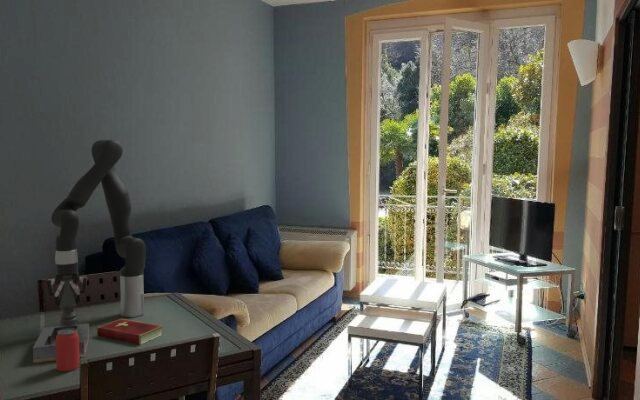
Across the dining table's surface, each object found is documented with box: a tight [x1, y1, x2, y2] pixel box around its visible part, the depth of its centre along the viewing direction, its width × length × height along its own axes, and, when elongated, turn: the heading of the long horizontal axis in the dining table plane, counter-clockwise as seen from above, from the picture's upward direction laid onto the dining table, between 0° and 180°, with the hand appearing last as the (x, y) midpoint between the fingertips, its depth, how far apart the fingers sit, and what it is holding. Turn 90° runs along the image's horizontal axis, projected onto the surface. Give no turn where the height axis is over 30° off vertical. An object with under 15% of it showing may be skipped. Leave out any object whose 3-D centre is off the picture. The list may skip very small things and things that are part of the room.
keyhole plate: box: [32, 322, 90, 363], centre depth 173 cm, size 15×21×5 cm
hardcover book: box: [96, 318, 164, 346], centre depth 187 cm, size 12×21×4 cm, turn 66°
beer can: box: [55, 328, 80, 372], centre depth 156 cm, size 7×7×12 cm
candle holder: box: [58, 275, 79, 326], centre depth 189 cm, size 6×6×25 cm
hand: (68, 304), depth 189 cm, fingers closed on candle holder, 6 cm apart
